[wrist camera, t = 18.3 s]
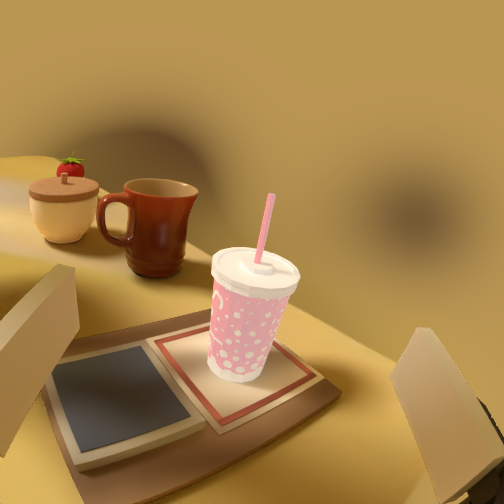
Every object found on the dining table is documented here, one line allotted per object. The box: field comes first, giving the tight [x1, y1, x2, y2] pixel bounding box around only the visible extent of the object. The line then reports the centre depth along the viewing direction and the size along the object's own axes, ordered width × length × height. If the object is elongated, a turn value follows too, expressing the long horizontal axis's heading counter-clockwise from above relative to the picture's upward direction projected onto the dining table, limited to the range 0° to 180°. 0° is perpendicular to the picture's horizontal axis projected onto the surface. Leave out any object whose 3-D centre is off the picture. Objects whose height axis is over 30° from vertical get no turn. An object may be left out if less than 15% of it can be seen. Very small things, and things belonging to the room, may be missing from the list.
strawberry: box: [57, 151, 85, 178], centre depth 55 cm, size 6×8×10 cm
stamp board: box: [41, 309, 342, 504], centre depth 23 cm, size 15×21×2 cm
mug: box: [96, 178, 199, 278], centre depth 37 cm, size 12×9×10 cm
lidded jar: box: [29, 173, 99, 244], centre depth 40 cm, size 11×11×9 cm
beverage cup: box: [207, 193, 300, 383], centre depth 23 cm, size 6×6×14 cm
